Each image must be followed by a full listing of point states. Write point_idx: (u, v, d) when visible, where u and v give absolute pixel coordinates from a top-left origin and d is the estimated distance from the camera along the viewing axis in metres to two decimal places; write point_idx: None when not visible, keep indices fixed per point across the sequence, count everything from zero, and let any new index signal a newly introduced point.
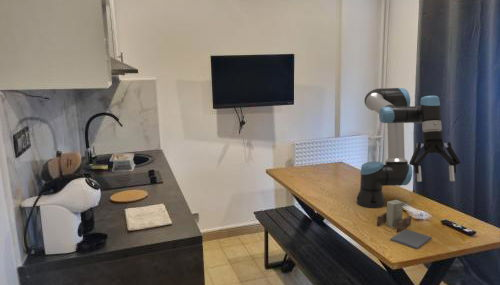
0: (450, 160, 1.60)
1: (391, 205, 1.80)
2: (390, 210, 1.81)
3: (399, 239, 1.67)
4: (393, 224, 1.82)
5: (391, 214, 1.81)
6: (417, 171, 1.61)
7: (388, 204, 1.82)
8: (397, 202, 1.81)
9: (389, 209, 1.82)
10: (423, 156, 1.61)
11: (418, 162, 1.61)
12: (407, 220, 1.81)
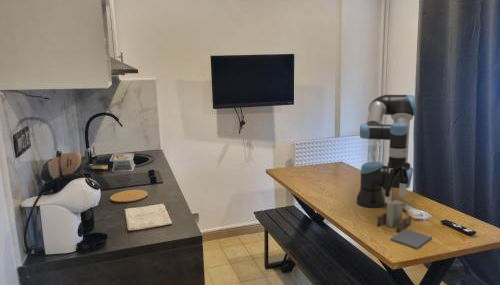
0: (404, 180, 1.83)
1: (391, 205, 1.80)
2: (390, 210, 1.81)
3: (399, 239, 1.67)
4: (393, 224, 1.82)
5: (391, 214, 1.81)
6: (388, 195, 1.75)
7: (388, 204, 1.82)
8: (397, 202, 1.81)
9: (389, 209, 1.82)
10: (393, 181, 1.75)
11: (390, 187, 1.74)
12: (407, 220, 1.81)
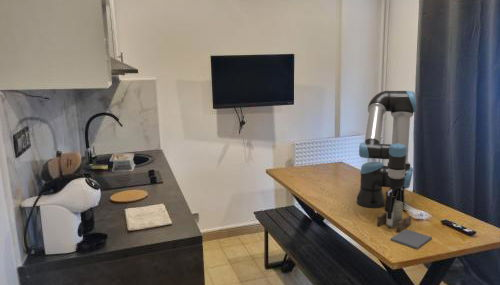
0: None
1: None
2: None
3: (399, 239, 1.67)
4: (393, 224, 1.82)
5: None
6: (390, 217, 1.80)
7: None
8: (397, 202, 1.81)
9: None
10: (394, 202, 1.79)
11: (392, 209, 1.79)
12: (407, 220, 1.81)
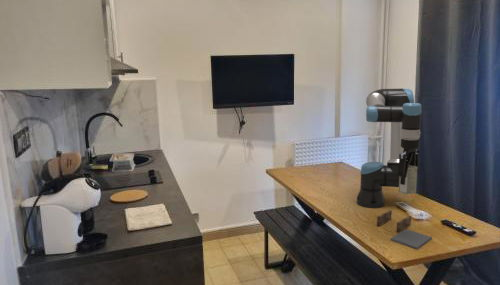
0: None
1: None
2: None
3: (399, 239, 1.67)
4: (407, 190, 1.67)
5: None
6: (404, 182, 1.65)
7: None
8: (411, 166, 1.67)
9: None
10: (407, 166, 1.64)
11: (406, 174, 1.64)
12: (407, 220, 1.81)
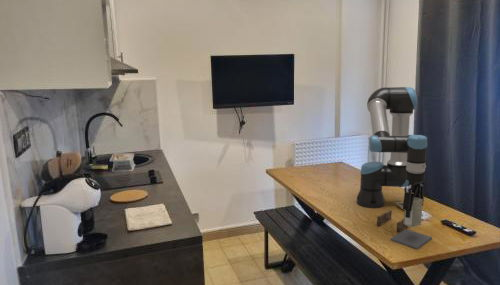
0: None
1: None
2: None
3: (399, 239, 1.67)
4: (412, 223, 1.65)
5: None
6: (409, 215, 1.63)
7: None
8: (416, 199, 1.64)
9: None
10: (413, 199, 1.62)
11: (411, 207, 1.62)
12: None
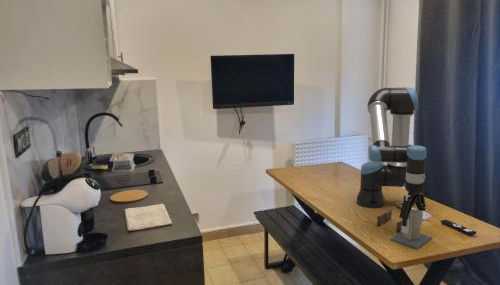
0: (421, 206, 1.69)
1: None
2: None
3: (399, 239, 1.67)
4: (411, 236, 1.66)
5: (409, 225, 1.65)
6: (406, 224, 1.62)
7: None
8: (415, 212, 1.66)
9: None
10: (410, 209, 1.62)
11: (408, 216, 1.61)
12: None
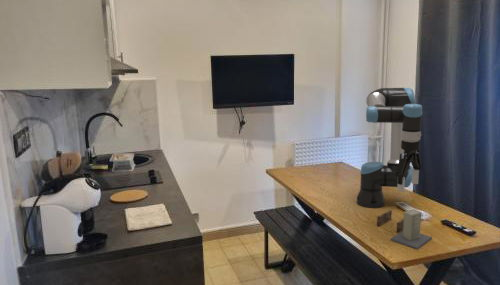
0: (417, 166, 1.69)
1: (409, 216, 1.64)
2: (407, 221, 1.66)
3: (399, 239, 1.67)
4: (411, 236, 1.66)
5: (409, 225, 1.65)
6: (401, 182, 1.61)
7: (405, 214, 1.66)
8: (415, 212, 1.66)
9: (406, 220, 1.66)
10: (406, 167, 1.61)
11: (403, 174, 1.60)
12: None
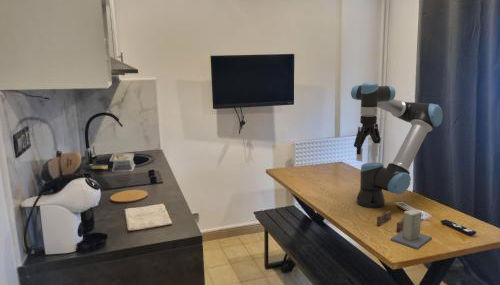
0: (376, 139, 1.88)
1: (409, 216, 1.64)
2: (407, 221, 1.66)
3: (399, 239, 1.67)
4: (411, 236, 1.66)
5: (409, 225, 1.65)
6: (359, 152, 1.80)
7: (405, 214, 1.66)
8: (415, 212, 1.66)
9: (406, 220, 1.66)
10: (364, 139, 1.80)
11: (361, 145, 1.79)
12: None
